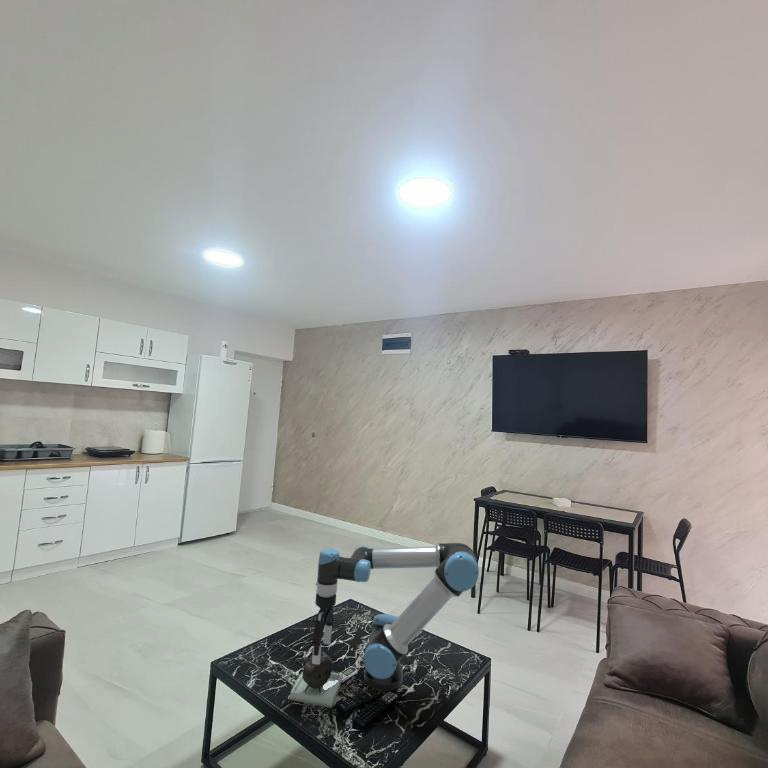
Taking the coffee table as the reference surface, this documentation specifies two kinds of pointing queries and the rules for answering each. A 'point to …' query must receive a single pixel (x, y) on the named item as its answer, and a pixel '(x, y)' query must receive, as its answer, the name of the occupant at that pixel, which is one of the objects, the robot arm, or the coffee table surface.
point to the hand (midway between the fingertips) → (321, 653)
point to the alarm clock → (317, 671)
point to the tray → (316, 692)
